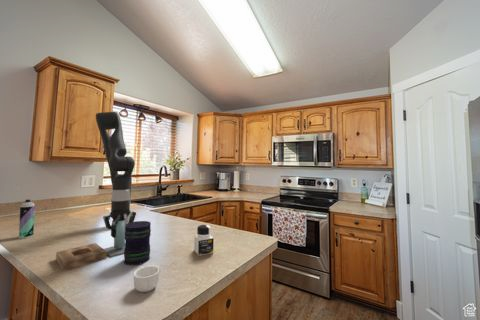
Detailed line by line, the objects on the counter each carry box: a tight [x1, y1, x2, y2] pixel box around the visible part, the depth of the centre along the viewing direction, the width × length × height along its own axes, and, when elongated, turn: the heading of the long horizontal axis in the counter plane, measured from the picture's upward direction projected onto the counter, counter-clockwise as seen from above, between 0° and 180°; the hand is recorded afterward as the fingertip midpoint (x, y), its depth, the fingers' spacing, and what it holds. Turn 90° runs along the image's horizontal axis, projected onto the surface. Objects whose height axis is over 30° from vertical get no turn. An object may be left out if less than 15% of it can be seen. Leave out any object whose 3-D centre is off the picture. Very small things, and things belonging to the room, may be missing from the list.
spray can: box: [18, 199, 36, 240], centre depth 113 cm, size 6×6×20 cm
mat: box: [103, 245, 125, 258], centre depth 97 cm, size 11×11×1 cm
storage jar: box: [123, 220, 152, 266], centre depth 88 cm, size 10×10×15 cm
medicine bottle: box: [193, 224, 214, 257], centre depth 97 cm, size 7×7×12 cm
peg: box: [113, 220, 126, 248], centre depth 98 cm, size 4×4×12 cm
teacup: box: [133, 265, 161, 293], centre depth 69 cm, size 10×8×5 cm
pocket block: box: [55, 242, 107, 272], centre depth 88 cm, size 14×14×3 cm
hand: (119, 235), depth 98 cm, fingers closed on peg, 4 cm apart
